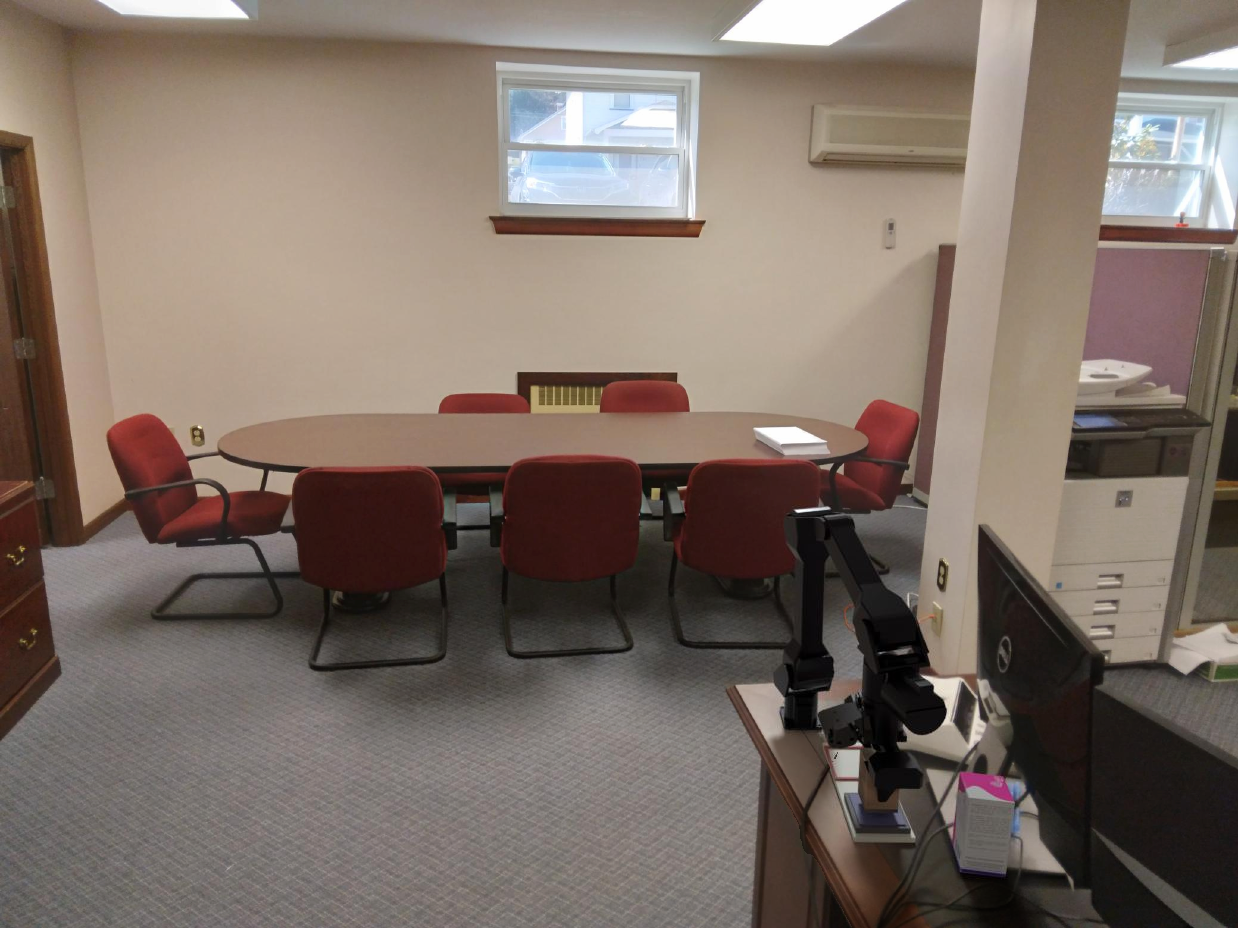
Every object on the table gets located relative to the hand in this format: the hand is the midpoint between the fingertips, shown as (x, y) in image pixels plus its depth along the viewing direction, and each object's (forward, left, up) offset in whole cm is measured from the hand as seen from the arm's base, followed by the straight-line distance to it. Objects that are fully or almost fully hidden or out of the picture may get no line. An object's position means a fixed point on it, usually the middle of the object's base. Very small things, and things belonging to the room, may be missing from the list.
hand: (877, 789), depth 112 cm
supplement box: (+8, +12, -5) cm, 15 cm away
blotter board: (-6, 0, -5) cm, 8 cm away
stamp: (0, 0, -2) cm, 2 cm away
